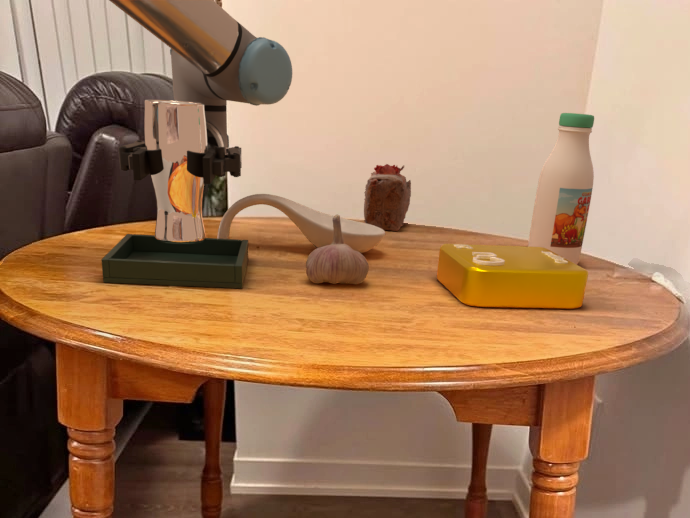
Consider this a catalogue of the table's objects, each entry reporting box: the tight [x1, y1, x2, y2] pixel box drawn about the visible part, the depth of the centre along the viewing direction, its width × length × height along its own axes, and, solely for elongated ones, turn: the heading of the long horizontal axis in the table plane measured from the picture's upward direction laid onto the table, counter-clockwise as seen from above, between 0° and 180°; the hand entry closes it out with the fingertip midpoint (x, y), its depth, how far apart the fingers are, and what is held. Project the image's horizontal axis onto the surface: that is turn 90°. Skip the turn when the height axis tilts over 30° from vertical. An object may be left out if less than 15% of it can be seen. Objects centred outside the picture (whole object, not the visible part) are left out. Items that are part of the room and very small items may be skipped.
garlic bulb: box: [305, 214, 370, 285], centre depth 93 cm, size 8×7×8 cm
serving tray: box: [101, 233, 249, 290], centre depth 95 cm, size 16×16×3 cm
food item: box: [363, 163, 412, 232], centre depth 133 cm, size 14×8×10 cm, turn 177°
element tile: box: [436, 243, 589, 310], centre depth 95 cm, size 15×15×5 cm
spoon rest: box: [216, 193, 386, 254], centre depth 110 cm, size 24×12×7 cm, turn 92°
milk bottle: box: [527, 112, 595, 265], centre depth 110 cm, size 8×8×20 cm
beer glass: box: [144, 99, 207, 244], centre depth 90 cm, size 7×7×15 cm
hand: (171, 169), depth 86 cm, fingers closed on beer glass, 7 cm apart
